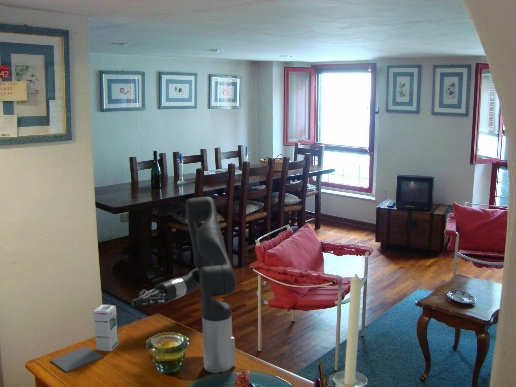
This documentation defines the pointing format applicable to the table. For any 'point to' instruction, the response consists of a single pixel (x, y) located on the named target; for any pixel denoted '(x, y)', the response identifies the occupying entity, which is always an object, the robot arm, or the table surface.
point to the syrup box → (106, 327)
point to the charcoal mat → (76, 359)
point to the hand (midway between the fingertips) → (132, 303)
